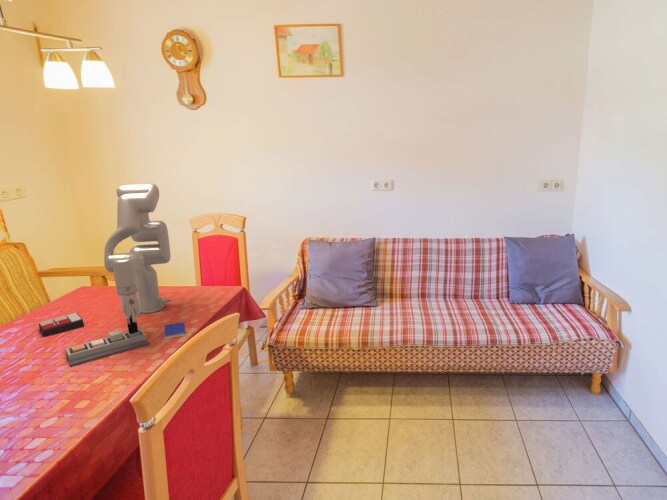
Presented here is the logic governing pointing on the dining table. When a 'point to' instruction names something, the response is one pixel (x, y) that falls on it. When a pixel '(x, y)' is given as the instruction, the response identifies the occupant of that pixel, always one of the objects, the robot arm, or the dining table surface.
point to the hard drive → (174, 330)
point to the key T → (133, 334)
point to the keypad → (106, 348)
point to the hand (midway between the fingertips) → (133, 332)
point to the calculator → (61, 324)
